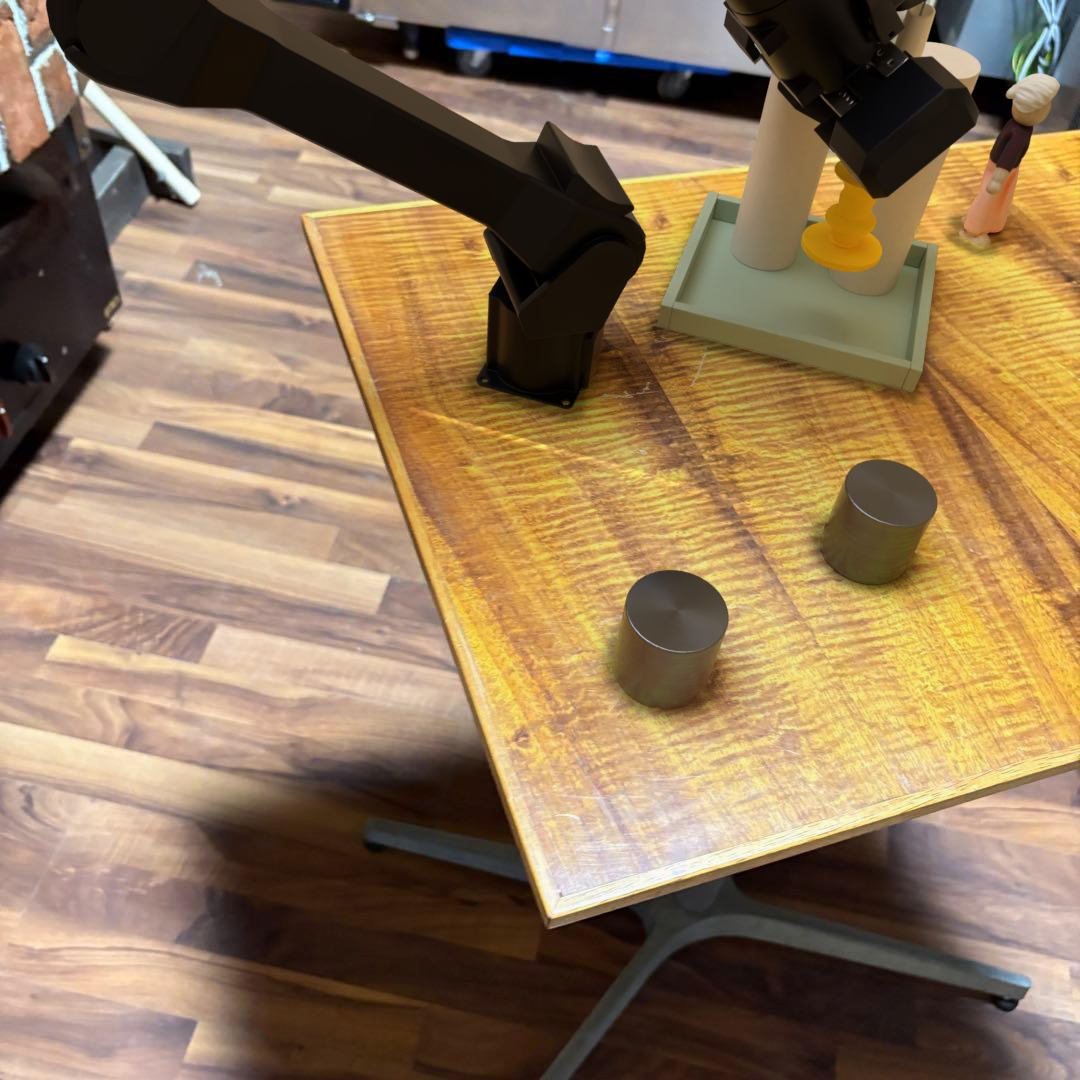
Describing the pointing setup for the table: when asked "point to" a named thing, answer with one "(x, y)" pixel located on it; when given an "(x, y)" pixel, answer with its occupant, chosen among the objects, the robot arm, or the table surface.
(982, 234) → the grandmother figurine
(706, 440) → the table surface
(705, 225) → the tray
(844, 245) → the candle
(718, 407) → the table surface
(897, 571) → the grey tins
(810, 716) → the table surface
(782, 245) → the cream candles
